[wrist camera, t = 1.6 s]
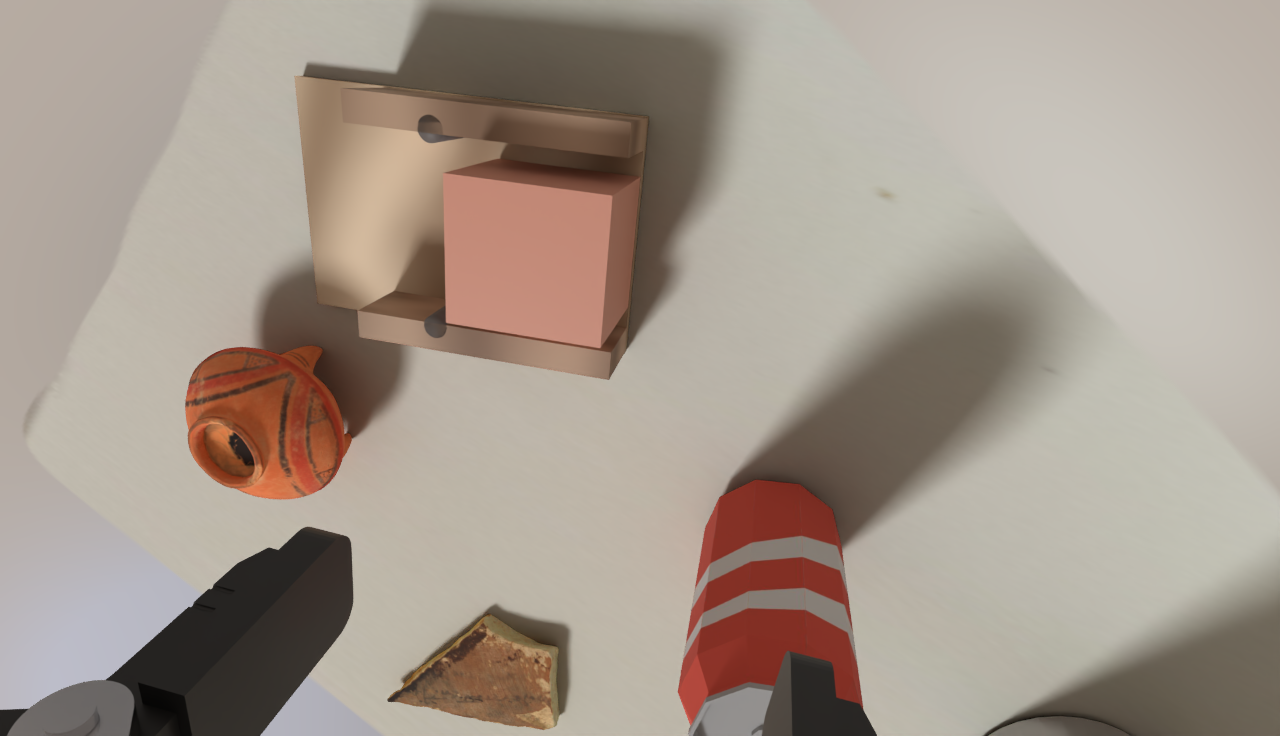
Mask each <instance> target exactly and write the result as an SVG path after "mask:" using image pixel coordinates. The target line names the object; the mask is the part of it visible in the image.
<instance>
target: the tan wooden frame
mask: <svg viewBox="0 0 1280 736" xmlns="http://www.w3.org/2000/svg"><path fill="white" fill-rule="evenodd" d="M295 85H296V95H297V105H298V115H299V125H300V135H301V145H302V155H303V165H304V175H305V184H306V194H307V204H308V214H309V224H310V234H311V244H312V254H313V264H314V274H315V284H316V293H317V303H318V304H324V305H330V306H336V307H342V308H348V309H354V310H358V311H357V314H358V327H359V337H362V338H368V339H373V340H379V341H385V342H391V343H397V344H403V345H408V346H414V347H420V348H426V349H432V350H438V351H443V352H449V353H455V354H461V355H467V356H473V357H479V358H484V359H490V360H496V361H502V362H508V363H514V364H519V365H525V366H531V367H537V368H543V369H549V370H554V371H560V372H566V373H572V374H578V375H584V376H590V377H595V378H601V379H607V380H609V379H610V377H611V375H612V373H613V372H614V370H615V368H616V366H617V365H618V363H619V361H620V359H621V358H622V356H623V354H624V353H625V352H626V349H627V338H628V328H629V318H630V308H631V297H632V287H633V277H634V266H635V256H636V246H637V235H638V225H639V215H640V205H641V194H642V184H643V174H644V163H645V153H646V143H647V132H648V122H649V116H641V115H632V114H624V113H615V112H606V111H598V110H589V109H581V108H572V107H564V106H555V105H546V104H538V103H529V102H521V101H512V100H504V99H495V98H486V97H478V96H469V95H461V94H452V93H444V92H435V91H426V90H418V89H409V88H401V87H392V86H384V85H375V84H366V83H358V82H349V81H341V80H332V79H324V78H315V77H306V76H295ZM494 159H506V160H514V161H521V162H529V163H537V164H545V165H552V166H560V167H568V168H576V169H583V170H591V171H599V172H607V173H614V174H622V175H630V176H638V177H641V178H640V189H639V199H638V209H637V220H636V230H635V241H634V251H633V262H632V272H631V283H630V293H629V304H628V308H627V310H626V311H625V313H624V314H623V316H622V317H621V318H620V320H619V321H618V323H617V324H616V326H615V327H614V329H613V330H612V332H611V333H610V335H609V336H608V338H607V339H606V341H605V342H604V344H603V345H602V347H601V348H596V347H590V346H584V345H577V344H571V343H565V342H559V341H553V340H547V339H541V338H535V337H529V336H523V335H517V334H511V333H505V332H499V331H493V330H487V329H480V328H474V327H468V326H462V325H456V324H450V323H446V298H445V248H444V198H443V173H445V172H449V171H453V170H456V169H460V168H464V167H468V166H471V165H475V164H479V163H483V162H487V161H490V160H494Z"/></svg>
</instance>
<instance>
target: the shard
mask: <svg viewBox="0 0 1280 736" xmlns="http://www.w3.org/2000/svg"><path fill="white" fill-rule="evenodd" d="M558 652H559V649H558V647H555V646H550V645H544V644H540V643H537V642H536V641H534V640H532V639H530V638H528V637H526V636H524V635H523V634H521V633H519V632H517V631H515V630H514V629H512V628H510V627H509V626H508V625H506V624H504V623H503V622H502V621H500V620H498V619H497V618H496V617H494V616H492V615H491V614H488V615H486V616H485V617H483V618H482V619H481V620H480V621H479V622H478V623H477V624H476V625H475V626H474V627H473V628H472V629H471V630H470V631H469V632H468V633H466V634H465V635H464V636H462V637H460V638H459V639H458V640H457V641H456V642H455V643H454V644H453V645H452V646H451V647H450V648H449V649H447V650H445V651H443V652H442V653H440V654H438V655H437V656H436V657H434V658H433V659H432V660H430V661H429V662H427V663H426V664H425V665H423V666H422V667H420V668H418V670H417V671H415V673H413V674H412V677H411V678H410V679H408V680H407V681H406V682H405V684H404V685H403V687H402V688H401V690H398V691H396V692H394V693H393V694H392V695H391V696H390V697H389V698H388V699H387V700H388V702H401V703H404V704H409V705H413V706H420V707H429V708H433V709H437V710H441V711H444V712H448V713H451V714H454V715H459V716H463V717H469V718H476V719H478V720H482V721H489V722H494V723H502V724H504V725H510V726H518V727H523V726H526V727H531V728H537V729H542V730H545V729H549V728H552V727H555V726H556V725H557V721H558V718H559V715H560V714H559V706H558V693H557V683H556V677H557V667H558Z"/></svg>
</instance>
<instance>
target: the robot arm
mask: <svg viewBox="0 0 1280 736" xmlns="http://www.w3.org/2000/svg"><path fill="white" fill-rule="evenodd" d="M352 606H353V577H352V551H351V542H350V539H349V538H348V537H347V536H344V535H340V534H336V533H332V532H328V531H324V530H320V529H316V528H312V527H305V528H303V529H301V530H300V531H298V532H297V533H296V534H295V535H294V536H293V537H292V538H291V539H290V540H289V541H288V542H287V543H286V544H284V545H283V546H282V547H281V548H280V549H279V550H276V549H272V548H267V549H265V550H263V551H261V552H259V553H257V554H255V555H253V556H251V557H249V558H247V559H245V560H243V561H241V562H239V563H237V564H236V565H235V566H234V567H233V568H232V569H231V570H230V571H228V572H227V573H226V574H225V575H224V576H223V577H222V578H221V579H219V580H218V581H217V582H216V583H215V584H214V586H213V588H212V589H208V590H207V591H206V592H205V593H204V594H203V595H201V596H200V597H199V598H198V599H197V600H196V601H195V602H194V604H193V606H192V607H188V608H187V609H186V610H185V611H184V612H182V613H181V614H180V615H179V616H178V617H177V618H176V619H174V620H173V621H172V622H171V623H170V624H169V625H168V626H167V627H166V628H164V629H163V630H162V631H161V632H160V633H159V634H158V635H157V636H155V637H154V638H153V639H152V640H151V641H150V642H149V643H148V644H146V645H145V646H144V647H143V648H142V649H141V650H140V651H139V652H137V653H136V654H135V655H134V656H133V657H132V658H131V659H130V660H128V661H127V662H126V663H125V664H124V665H123V666H122V667H121V668H119V669H118V670H117V671H116V672H115V673H114V674H113V675H111V676H110V677H109V678H108V679H106V680H97V681H88V682H83V683H79V684H76V685H72V686H69V687H66V688H64V689H61V690H59V691H57V692H55V693H53V694H51V695H49V696H47V697H45V698H44V699H42V700H40V701H39V702H37V703H36V704H35V705H33V706H32V707H30V708H29V709H13V710H0V736H260V735H261V733H262V732H263V731H264V730H265V728H266V727H267V726H268V725H269V723H270V722H271V721H272V720H273V719H274V717H275V716H276V715H277V713H278V712H279V711H280V710H281V708H282V707H283V706H284V705H285V703H286V702H287V701H288V699H289V698H290V697H291V696H292V695H293V693H294V692H295V691H296V689H297V688H298V687H299V686H300V684H301V683H302V682H303V681H304V679H305V678H306V677H307V676H308V674H309V673H310V672H311V671H312V669H313V668H314V667H315V666H316V664H317V663H318V662H319V661H320V659H321V658H322V657H323V655H324V654H325V653H326V652H327V650H328V649H329V648H330V647H331V645H332V644H333V643H334V642H335V640H336V639H337V638H338V637H339V635H340V634H341V632H342V631H343V629H344V627H345V625H346V624H347V621H348V619H349V616H350V613H351V610H352ZM762 736H877V734H876V733H875V731H874V729H873V727H872V725H871V723H870V722H869V720H868V718H867V716H866V714H865V712H864V711H863V709H862V707H861V705H860V704H859V703H855V702H852V701H848V700H844V699H840V698H836V688H835V678H834V669H833V665H832V663H831V662H830V661H826V660H823V659H819V658H815V657H811V656H807V655H803V654H799V653H795V652H791V651H787V652H786V653H785V656H784V658H783V661H782V664H781V667H780V671H779V674H778V677H777V680H776V683H775V686H774V689H773V692H772V695H771V698H770V702H769V705H768V708H767V711H766V715H765V719H764V724H763V730H762ZM988 736H1130V735H1128V734H1127V733H1125V732H1123V731H1122V730H1120V729H1117V728H1115V727H1112V726H1110V725H1107V724H1105V723H1102V722H1097V721H1093V720H1089V719H1084V718H1077V717H1064V716H1054V717H1038V718H1033V719H1028V720H1023V721H1019V722H1016V723H1013V724H1010V725H1008V726H1005V727H1003V728H1000V729H998V730H997V731H995V732H993V733H992V734H990V735H988Z"/></svg>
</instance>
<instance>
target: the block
mask: <svg viewBox="0 0 1280 736" xmlns="http://www.w3.org/2000/svg"><path fill="white" fill-rule="evenodd" d="M640 178H641V177H638V176H630V175H622V174H614V173H607V172H599V171H591V170H583V169H576V168H568V167H560V166H552V165H545V164H537V163H529V162H521V161H514V160H506V159H494V160H490V161H487V162H483V163H479V164H475V165H471V166H468V167H464V168H460V169H456V170H453V171H449V172H445V173H443V198H444V248H445V298H446V323H450V324H456V325H462V326H468V327H474V328H480V329H487V330H493V331H499V332H505V333H511V334H517V335H523V336H529V337H535V338H541V339H547V340H553V341H559V342H565V343H571V344H577V345H584V346H590V347H596V348H601V347H602V345H603V344H604V342H605V341H606V339H607V338H608V336H609V335H610V333H611V332H612V330H613V329H614V327H615V326H616V324H617V323H618V321H619V320H620V318H621V317H622V316H623V314H624V313H625V311H626V310H627V308H628V304H629V293H630V283H631V272H632V262H633V251H634V241H635V230H636V220H637V209H638V199H639V189H640Z"/></svg>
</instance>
